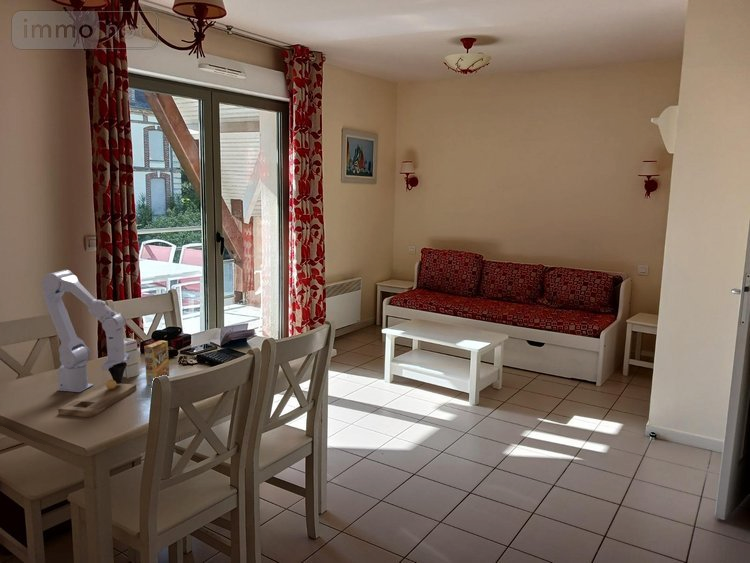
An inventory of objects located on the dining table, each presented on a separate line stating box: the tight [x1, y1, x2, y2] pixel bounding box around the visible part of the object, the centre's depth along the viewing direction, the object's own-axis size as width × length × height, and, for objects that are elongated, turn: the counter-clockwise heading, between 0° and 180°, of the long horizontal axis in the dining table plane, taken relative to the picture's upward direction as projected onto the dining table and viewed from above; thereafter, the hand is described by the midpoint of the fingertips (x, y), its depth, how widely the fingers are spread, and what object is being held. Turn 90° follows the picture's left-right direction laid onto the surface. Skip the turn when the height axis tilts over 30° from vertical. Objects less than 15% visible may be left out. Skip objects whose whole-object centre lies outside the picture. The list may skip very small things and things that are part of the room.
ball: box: [105, 379, 116, 389], centre depth 212 cm, size 4×4×4 cm
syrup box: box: [122, 337, 140, 379], centre depth 232 cm, size 6×6×14 cm
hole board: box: [57, 382, 137, 418], centre depth 206 cm, size 12×26×2 cm, turn 170°
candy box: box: [143, 339, 170, 386], centre depth 225 cm, size 9×4×15 cm, turn 162°
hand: (117, 383), depth 216 cm, fingers closed
